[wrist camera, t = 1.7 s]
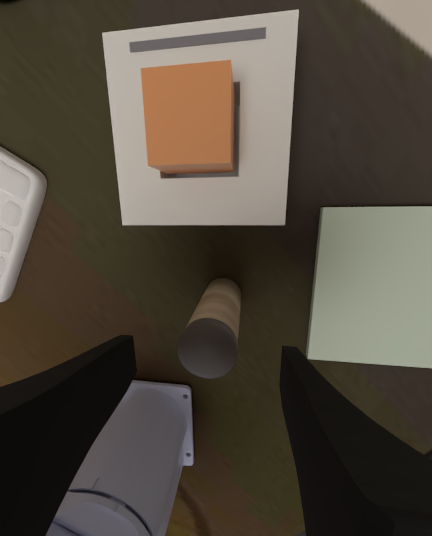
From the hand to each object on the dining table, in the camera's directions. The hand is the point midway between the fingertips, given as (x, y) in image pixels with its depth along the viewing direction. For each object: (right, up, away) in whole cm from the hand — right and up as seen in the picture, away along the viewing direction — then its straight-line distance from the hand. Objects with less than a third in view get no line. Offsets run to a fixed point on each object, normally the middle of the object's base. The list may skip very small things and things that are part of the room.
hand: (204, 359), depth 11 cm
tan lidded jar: (+1, +2, +8) cm, 9 cm away
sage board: (+13, +3, +6) cm, 15 cm away
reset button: (0, +12, +2) cm, 12 cm away
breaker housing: (0, +13, +6) cm, 14 cm away
